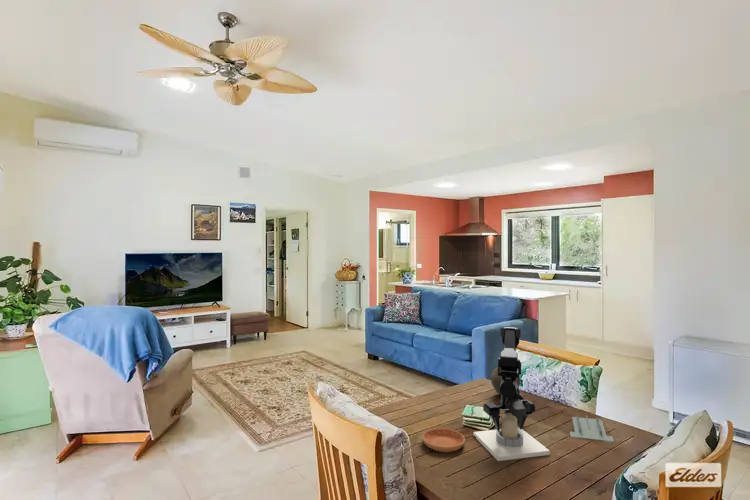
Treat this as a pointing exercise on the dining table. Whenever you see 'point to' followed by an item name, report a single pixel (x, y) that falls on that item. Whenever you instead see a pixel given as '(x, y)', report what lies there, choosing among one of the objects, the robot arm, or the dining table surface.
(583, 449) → the dining table surface
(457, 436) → the saucer
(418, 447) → the dining table surface
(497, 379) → the dark olive sphere
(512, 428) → the candle
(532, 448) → the collar plate
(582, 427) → the metal bracket
